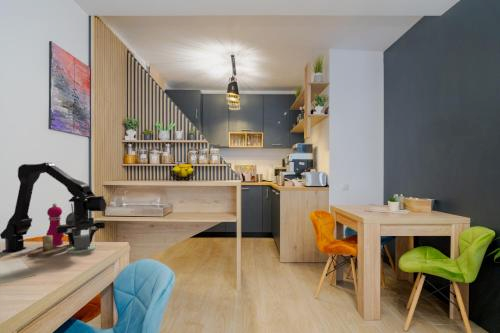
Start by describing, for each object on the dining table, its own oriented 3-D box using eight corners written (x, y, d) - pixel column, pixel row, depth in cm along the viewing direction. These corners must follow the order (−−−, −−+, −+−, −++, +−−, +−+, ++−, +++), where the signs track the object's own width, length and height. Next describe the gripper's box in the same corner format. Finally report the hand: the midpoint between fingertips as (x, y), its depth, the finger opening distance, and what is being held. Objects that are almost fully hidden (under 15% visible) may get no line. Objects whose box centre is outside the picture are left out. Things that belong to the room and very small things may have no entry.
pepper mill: (67, 242, 146) (66, 202, 146) (56, 246, 139) (55, 204, 139) (54, 242, 147) (53, 202, 147) (42, 246, 140) (41, 204, 140)
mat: (61, 252, 129) (61, 251, 129) (80, 245, 140) (80, 244, 140) (83, 253, 127) (83, 252, 127) (100, 246, 137) (100, 245, 137)
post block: (27, 256, 124) (27, 238, 124) (48, 249, 134) (47, 233, 134) (47, 257, 123) (47, 239, 122) (66, 250, 132) (66, 233, 132)
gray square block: (73, 246, 134) (73, 236, 134) (88, 243, 137) (88, 234, 137) (74, 249, 129) (74, 238, 129) (90, 246, 132) (89, 236, 132)
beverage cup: (86, 242, 145) (85, 202, 145) (73, 246, 138) (72, 204, 138) (75, 241, 148) (74, 202, 148) (62, 245, 141) (61, 203, 141)
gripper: (56, 216, 121) (57, 253, 121) (106, 211, 132) (107, 246, 132) (56, 212, 130) (56, 247, 130) (103, 208, 141) (103, 241, 141)
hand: (81, 245), depth 133 cm, fingers closed on gray square block, 6 cm apart
